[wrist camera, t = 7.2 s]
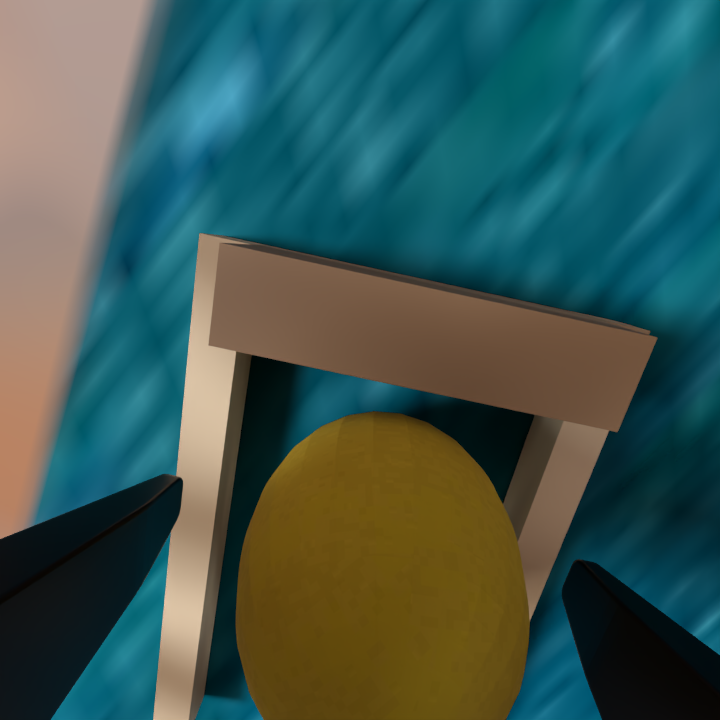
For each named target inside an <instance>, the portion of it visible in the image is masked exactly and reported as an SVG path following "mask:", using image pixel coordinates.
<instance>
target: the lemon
mask: <svg viewBox="0 0 720 720" xmlns="http://www.w3.org/2000/svg"><path fill="white" fill-rule="evenodd" d="M529 626H530V620H529V605H528V598H527V591H526V584H525V579H524V573H523V567H522V561H521V555H520V551H519V546H518V542H517V538H516V535H515V532H514V529H513V526H512V523H511V521H510V518H509V516H508V514H507V512H506V510H505V508H504V506H503V504H502V502H501V500H500V498H499V496H498V494H497V492H496V490H495V488H494V486H493V484H492V482H491V481H490V479H489V477H488V476H487V474H486V473H485V472H484V470H483V469H482V468H481V467H480V465H479V464H478V463H477V462H476V461H475V460H474V459H473V458H472V457H471V456H470V455H469V454H468V453H467V452H466V451H465V450H464V448H463V447H462V446H461V445H460V444H459V443H458V442H457V441H456V440H454V439H453V438H451V437H450V436H448V435H447V434H445V433H443V432H442V431H440V430H439V429H437V428H436V427H434V426H432V425H431V424H429V423H428V422H425V421H422V420H419V419H416V418H412V417H409V416H406V415H403V414H400V413H388V412H375V411H373V412H367V413H361V414H354V415H348V416H345V417H343V418H340V419H338V420H335V421H333V422H331V423H328V424H326V425H323V426H321V427H320V428H319V429H317V430H316V431H315V432H313V433H312V434H311V435H309V436H308V437H307V438H305V439H304V440H303V441H301V442H300V443H299V444H297V445H296V446H295V447H294V448H293V449H292V450H291V451H290V452H289V454H288V455H287V456H286V458H285V459H284V460H283V462H282V463H281V464H280V465H279V467H278V468H277V469H276V471H275V472H274V473H273V475H272V476H271V478H270V479H269V480H268V482H267V484H266V486H265V487H264V489H263V491H262V493H261V496H260V499H259V501H258V504H257V506H256V509H255V511H254V514H253V516H252V519H251V521H250V524H249V527H248V529H247V532H246V536H245V539H244V543H243V547H242V553H241V558H240V565H239V574H238V587H237V602H236V637H237V647H238V651H239V655H240V658H241V662H242V666H243V670H244V674H245V678H246V682H247V685H248V689H249V693H250V695H251V697H252V699H253V701H254V702H255V704H256V706H257V708H258V710H259V712H260V714H261V716H262V717H263V719H264V720H506V718H507V716H508V714H509V712H510V710H511V708H512V706H513V704H514V702H515V700H516V698H517V696H518V694H519V691H520V687H521V683H522V679H523V675H524V671H525V664H526V657H527V650H528V644H529Z"/></svg>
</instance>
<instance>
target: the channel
mask: <svg viewBox="0 0 720 720" xmlns="http://www.w3.org/2000/svg"><path fill="white" fill-rule="evenodd" d="M649 334H650V331H649V330H645V329H642V328H638V327H635V326H631V325H628V324H624V323H621V322H617V321H614V320H609V319H605V318H600V317H596V316H591V315H586V314H582V313H577V312H573V311H568V310H563V309H559V308H554V307H549V306H545V305H540V304H536V303H531V302H526V301H522V300H517V299H513V298H508V297H503V296H499V295H494V294H490V293H485V292H480V291H476V290H471V289H467V288H462V287H457V286H453V285H448V284H444V283H439V282H434V281H430V280H425V279H421V278H416V277H411V276H407V275H402V274H398V273H393V272H388V271H384V270H379V269H374V268H370V267H365V266H361V265H356V264H351V263H347V262H342V261H338V260H333V259H328V258H324V257H319V256H315V255H310V254H305V253H301V252H296V251H292V250H287V249H282V248H278V247H273V246H268V245H264V244H259V243H255V242H250V241H246V240H241V239H236V238H232V237H227V236H222V235H212V234H203V233H199V244H198V254H197V265H196V275H195V286H194V296H193V307H192V317H191V328H190V338H189V349H188V359H187V370H186V380H185V391H184V402H183V412H182V423H181V433H180V444H179V454H178V465H177V475H176V476H178V477H181V478H182V479H183V492H182V502H181V510H180V514H179V517H178V519H177V521H176V523H175V525H174V527H173V529H172V530H171V538H170V549H169V559H168V570H167V581H166V591H165V602H164V612H163V623H162V633H161V644H160V654H159V665H158V675H157V686H156V696H155V707H154V717H153V720H195V718H196V715H197V712H198V710H199V707H200V705H201V702H202V699H203V697H204V692H205V684H206V677H207V670H208V663H209V656H210V649H211V642H212V634H213V627H214V620H215V613H216V606H217V599H218V592H219V585H220V577H221V570H222V563H223V556H224V549H225V542H226V535H227V527H228V520H229V513H230V506H231V499H232V492H233V485H234V478H235V470H236V463H237V456H238V449H239V442H240V435H241V428H242V421H243V413H244V406H245V399H246V392H247V385H248V378H249V371H250V363H251V356H252V355H256V356H260V357H265V358H270V359H274V360H279V361H284V362H289V363H293V364H298V365H303V366H307V367H312V368H317V369H322V370H326V371H331V372H336V373H340V374H345V375H350V376H355V377H359V378H364V379H369V380H373V381H378V382H383V383H388V384H392V385H397V386H402V387H406V388H411V389H416V390H421V391H425V392H430V393H435V394H439V395H444V396H449V397H454V398H458V399H463V400H468V401H472V402H477V403H482V404H487V405H491V406H496V407H501V408H506V409H510V410H515V411H520V412H524V413H529V414H534V415H535V416H534V419H533V421H532V424H531V427H530V430H529V433H528V435H527V438H526V441H525V444H524V447H523V449H522V452H521V455H520V458H519V461H518V463H517V466H516V469H515V472H514V475H513V477H512V480H511V483H510V486H509V489H508V491H507V494H506V497H505V500H504V503H503V506H504V508H505V510H506V512H507V514H508V516H509V518H510V521H511V523H512V526H513V529H514V532H515V535H516V538H517V542H518V546H519V551H520V555H521V561H522V567H523V573H524V579H525V584H526V591H527V598H528V605H529V620H531V617H532V615H533V612H534V610H535V608H536V605H537V603H538V600H539V598H540V596H541V593H542V591H543V588H544V586H545V584H546V581H547V579H548V576H549V574H550V571H551V569H552V567H553V564H554V562H555V559H556V557H557V555H558V552H559V550H560V547H561V545H562V543H563V540H564V538H565V535H566V533H567V531H568V528H569V526H570V523H571V521H572V519H573V516H574V514H575V511H576V509H577V507H578V504H579V502H580V499H581V497H582V495H583V492H584V490H585V487H586V485H587V483H588V480H589V478H590V475H591V473H592V471H593V468H594V466H595V463H596V461H597V459H598V456H599V454H600V451H601V449H602V447H603V444H604V442H605V439H606V437H607V435H608V432H609V431H614V432H618V430H619V428H620V425H621V423H622V421H623V418H624V416H625V414H626V411H627V409H628V407H629V404H630V402H631V399H632V397H633V395H634V392H635V390H636V388H637V385H638V383H639V381H640V378H641V376H642V373H643V371H644V369H645V366H646V364H647V362H648V359H649V357H650V355H651V352H652V350H653V347H654V345H655V343H656V340H657V337H654V336H651V335H649Z"/></svg>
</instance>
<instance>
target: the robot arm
mask: <svg viewBox="0 0 720 720" xmlns="http://www.w3.org/2000/svg"><path fill="white" fill-rule="evenodd" d="M182 492H183V479H182V478H181V477H178V476H174V475H169V474H162V475H159V476H157V477H154V478H152V479H149V480H147V481H144V482H142V483H139V484H137V485H134V486H132V487H129V488H127V489H124V490H122V491H119V492H117V493H114V494H112V495H109V496H107V497H104V498H102V499H99V500H97V501H94V502H92V503H90V504H87V505H85V506H82V507H80V508H77V509H75V510H72V511H70V512H67V513H65V514H62V515H60V516H57V517H55V518H52V519H50V520H47V521H45V522H42V523H39V524H37V525H34V526H32V527H29V528H27V529H24V530H22V531H19V532H17V533H14V534H12V535H9V536H7V537H4V538H2V539H0V720H51V718H52V717H53V715H54V714H55V712H56V711H57V709H58V708H59V706H60V705H61V704H62V702H63V701H64V699H65V698H66V696H67V695H68V693H69V692H70V690H71V689H72V687H73V686H74V684H75V683H76V681H77V680H78V679H79V677H80V676H81V674H82V673H83V671H84V670H85V668H86V667H87V665H88V664H89V662H90V661H91V659H92V658H93V656H94V655H95V653H96V652H97V651H98V649H99V648H100V646H101V645H102V643H103V642H104V640H105V639H106V637H107V636H108V634H109V633H110V631H111V630H112V628H113V627H114V626H115V624H116V623H117V621H118V620H119V618H120V617H121V615H122V614H123V612H124V611H125V609H126V608H127V606H128V605H129V603H130V602H131V600H132V599H133V598H134V596H135V595H136V593H137V591H138V590H139V588H140V587H141V585H142V584H143V582H144V580H145V578H146V577H147V575H148V573H149V571H150V569H151V567H152V566H153V564H154V562H155V560H156V558H157V556H158V554H159V553H160V551H161V549H162V547H163V545H164V543H165V542H166V540H167V538H168V536H169V534H170V532H171V530H172V529H173V527H174V525H175V523H176V521H177V519H178V517H179V514H180V510H181V502H182ZM562 599H563V603H564V606H565V610H566V613H567V617H568V620H569V623H570V627H571V630H572V634H573V637H574V640H575V644H576V647H577V651H578V654H579V657H580V661H581V664H582V667H583V670H584V673H585V676H586V679H587V682H588V684H589V687H590V690H591V692H592V695H593V697H594V700H595V703H596V705H597V708H598V710H599V713H600V715H601V718H602V720H720V655H719V654H717V653H716V652H715V651H713V650H712V649H711V648H709V647H708V646H707V645H705V644H704V643H703V642H701V641H700V640H698V639H697V638H696V637H694V636H693V635H692V634H690V633H689V632H688V631H686V630H685V629H684V628H682V627H681V626H680V625H678V624H677V623H676V622H674V621H673V620H672V619H670V618H669V617H668V616H666V615H665V614H664V613H662V612H661V611H660V610H658V609H657V608H656V607H654V606H653V605H652V604H650V603H649V602H648V601H646V600H645V599H644V598H642V597H641V596H640V595H638V594H637V593H636V592H634V591H633V590H632V589H630V588H629V587H628V586H626V585H625V584H624V583H622V582H621V581H620V580H618V579H617V578H616V577H614V576H613V575H612V574H610V573H609V572H608V571H606V570H605V569H604V568H602V567H601V566H600V565H598V564H597V563H594V562H590V561H585V560H580V559H578V560H576V561H574V562H573V564H572V566H571V569H570V571H569V573H568V576H567V578H566V580H565V582H564V585H563V588H562Z"/></svg>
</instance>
